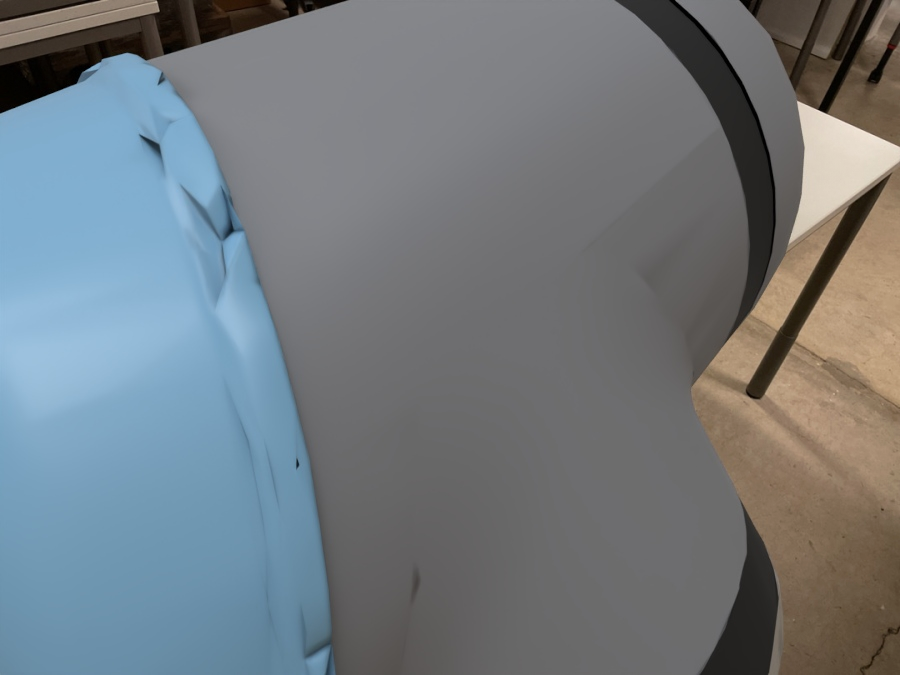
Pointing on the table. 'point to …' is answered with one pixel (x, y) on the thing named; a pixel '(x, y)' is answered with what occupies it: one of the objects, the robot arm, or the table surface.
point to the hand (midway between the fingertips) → (433, 261)
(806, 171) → the table surface
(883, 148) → the table surface
